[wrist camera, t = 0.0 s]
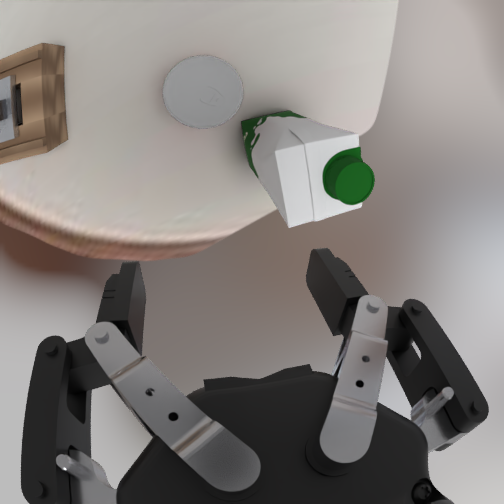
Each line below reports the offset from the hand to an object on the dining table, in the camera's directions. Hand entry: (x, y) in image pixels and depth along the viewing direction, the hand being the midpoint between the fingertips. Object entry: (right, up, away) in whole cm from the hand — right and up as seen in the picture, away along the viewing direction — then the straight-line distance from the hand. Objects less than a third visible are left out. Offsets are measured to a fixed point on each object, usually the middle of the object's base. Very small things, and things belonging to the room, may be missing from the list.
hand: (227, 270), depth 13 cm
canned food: (-6, +22, +20) cm, 30 cm away
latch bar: (-29, +18, +8) cm, 35 cm away
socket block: (-30, +22, +14) cm, 40 cm away
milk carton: (+4, +17, +26) cm, 31 cm away
